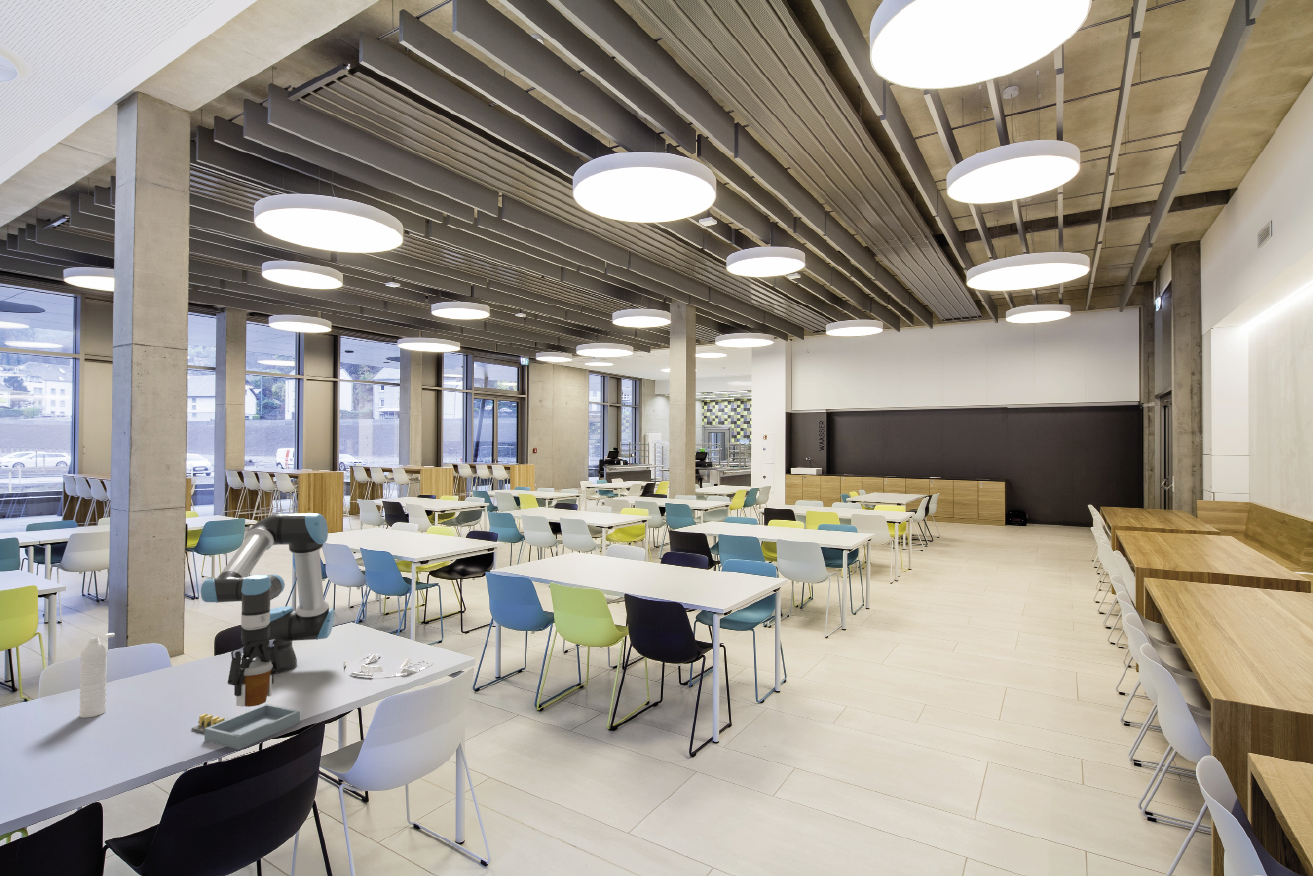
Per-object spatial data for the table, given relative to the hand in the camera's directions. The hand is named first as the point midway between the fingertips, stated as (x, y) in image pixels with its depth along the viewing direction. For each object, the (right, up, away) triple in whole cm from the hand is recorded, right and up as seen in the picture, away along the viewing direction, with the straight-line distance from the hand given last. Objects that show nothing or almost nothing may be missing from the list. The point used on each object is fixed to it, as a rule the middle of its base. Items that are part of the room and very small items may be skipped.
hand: (254, 700), depth 197 cm
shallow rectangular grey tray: (0, -9, 0) cm, 9 cm away
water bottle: (-60, -9, +12) cm, 62 cm away
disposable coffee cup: (0, -1, 0) cm, 1 cm away
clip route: (-14, -9, +1) cm, 17 cm away
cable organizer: (+15, -11, +57) cm, 60 cm away
